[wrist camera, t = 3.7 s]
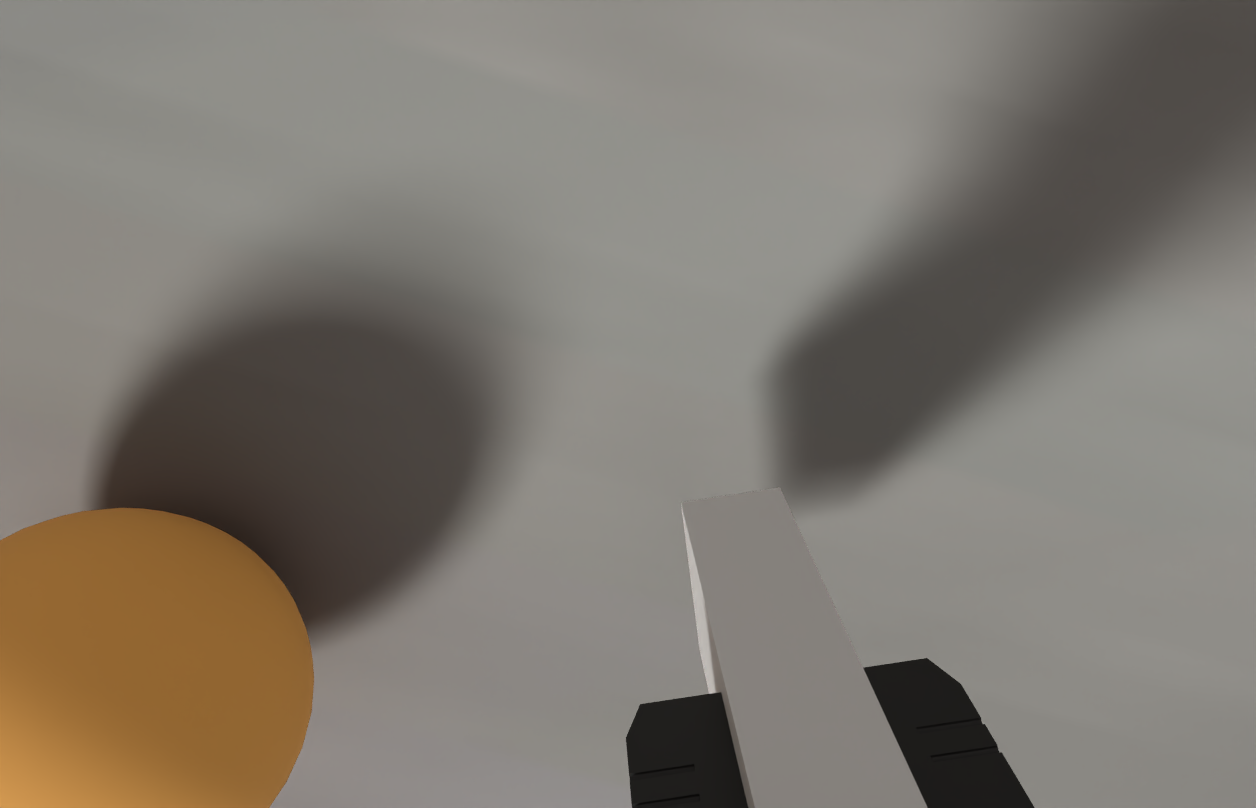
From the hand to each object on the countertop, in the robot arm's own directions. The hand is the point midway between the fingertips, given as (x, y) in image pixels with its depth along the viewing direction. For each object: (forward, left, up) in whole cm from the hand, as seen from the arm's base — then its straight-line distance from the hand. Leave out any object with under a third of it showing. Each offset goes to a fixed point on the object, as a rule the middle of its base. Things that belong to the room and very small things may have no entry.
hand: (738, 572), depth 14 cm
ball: (-9, 0, +1) cm, 9 cm away
